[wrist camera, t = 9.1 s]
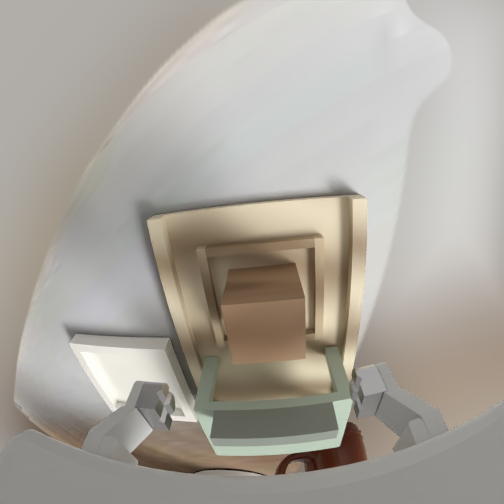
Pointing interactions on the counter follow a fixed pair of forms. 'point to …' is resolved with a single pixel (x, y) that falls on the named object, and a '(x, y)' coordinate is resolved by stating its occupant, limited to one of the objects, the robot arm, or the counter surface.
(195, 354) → the board
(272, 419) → the green stool
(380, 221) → the counter surface
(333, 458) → the mug
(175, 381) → the dish
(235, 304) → the block
